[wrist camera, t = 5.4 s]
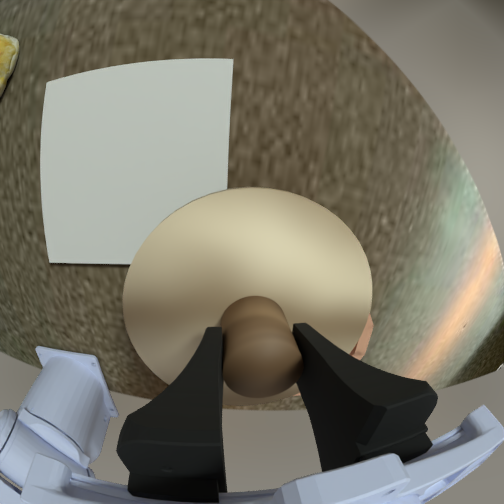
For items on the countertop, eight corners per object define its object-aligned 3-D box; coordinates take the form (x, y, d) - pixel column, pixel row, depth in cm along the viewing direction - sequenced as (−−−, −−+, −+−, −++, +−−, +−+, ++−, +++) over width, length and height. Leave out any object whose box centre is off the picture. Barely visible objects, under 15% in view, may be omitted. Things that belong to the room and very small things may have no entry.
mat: (225, 262, 21) (225, 264, 20) (52, 260, 19) (49, 262, 18) (232, 61, 16) (233, 59, 16) (49, 83, 14) (46, 82, 14)
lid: (345, 381, 17) (368, 426, 13) (155, 398, 16) (147, 450, 12) (378, 188, 13) (434, 205, 9) (107, 197, 11) (61, 218, 7)
